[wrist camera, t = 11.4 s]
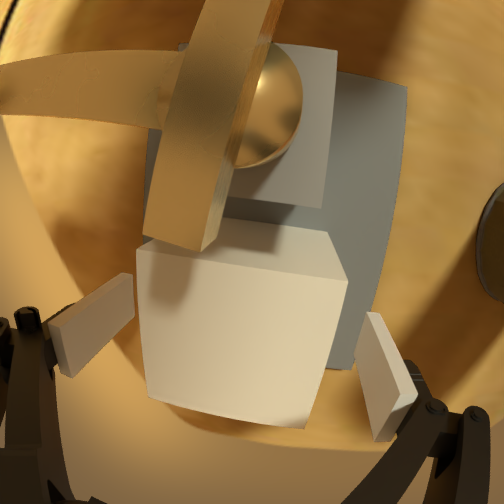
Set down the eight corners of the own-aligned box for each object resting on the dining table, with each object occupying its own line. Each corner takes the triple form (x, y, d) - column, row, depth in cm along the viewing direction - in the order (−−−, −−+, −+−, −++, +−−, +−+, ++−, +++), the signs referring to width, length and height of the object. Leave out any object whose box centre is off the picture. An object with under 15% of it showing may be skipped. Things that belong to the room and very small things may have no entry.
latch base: (164, 67, 17) (72, 16, 8) (402, 90, 15) (482, 39, 6) (151, 328, 23) (85, 408, 13) (349, 362, 21) (367, 466, 12)
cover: (199, 214, 19) (135, 249, 11) (327, 231, 18) (348, 281, 10) (194, 324, 21) (148, 397, 13) (304, 343, 20) (303, 429, 13)
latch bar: (324, 38, 7) (339, -41, 3) (270, 227, 9) (248, 280, 5) (11, 40, 8) (-47, 29, 4) (-16, 153, 10) (-77, 163, 6)
